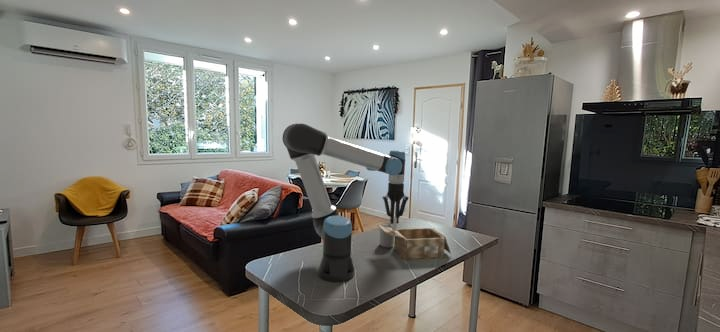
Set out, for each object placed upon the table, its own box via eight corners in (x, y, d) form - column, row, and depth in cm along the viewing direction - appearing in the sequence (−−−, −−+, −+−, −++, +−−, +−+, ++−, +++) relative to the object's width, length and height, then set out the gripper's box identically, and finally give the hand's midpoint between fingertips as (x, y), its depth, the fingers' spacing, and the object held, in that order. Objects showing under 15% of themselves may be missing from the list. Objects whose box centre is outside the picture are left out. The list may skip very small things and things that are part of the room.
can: (392, 248, 166) (393, 226, 164) (378, 247, 167) (379, 225, 166) (394, 244, 173) (395, 222, 172) (380, 242, 174) (381, 221, 173)
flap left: (404, 237, 151) (403, 238, 151) (394, 228, 164) (394, 229, 164) (386, 233, 149) (385, 234, 149) (378, 224, 162) (377, 225, 162)
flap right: (450, 253, 157) (450, 253, 157) (438, 243, 171) (437, 243, 171) (445, 236, 155) (444, 237, 155) (432, 228, 169) (432, 228, 169)
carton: (405, 260, 150) (406, 240, 149) (393, 247, 167) (394, 229, 166) (444, 258, 155) (445, 238, 154) (429, 246, 171) (430, 227, 170)
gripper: (385, 183, 149) (383, 232, 152) (411, 183, 152) (409, 231, 155) (381, 181, 157) (379, 228, 159) (406, 181, 160) (403, 227, 162)
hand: (393, 229), depth 157 cm, fingers closed
